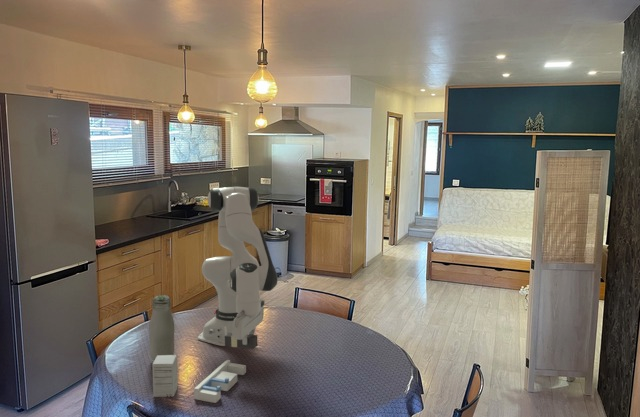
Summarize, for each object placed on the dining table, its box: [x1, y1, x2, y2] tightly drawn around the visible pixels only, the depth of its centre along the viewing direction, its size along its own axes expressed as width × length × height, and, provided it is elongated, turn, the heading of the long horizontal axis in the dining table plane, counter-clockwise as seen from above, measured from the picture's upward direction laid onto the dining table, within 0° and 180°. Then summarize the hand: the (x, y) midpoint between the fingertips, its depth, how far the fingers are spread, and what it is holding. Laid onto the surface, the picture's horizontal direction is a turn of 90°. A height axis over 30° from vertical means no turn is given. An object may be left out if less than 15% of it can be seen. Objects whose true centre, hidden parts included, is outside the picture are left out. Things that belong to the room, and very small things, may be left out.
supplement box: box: [151, 354, 179, 398], centre depth 174 cm, size 7×7×13 cm
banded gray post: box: [224, 333, 258, 350], centre depth 184 cm, size 12×4×4 cm, turn 73°
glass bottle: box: [148, 294, 175, 362], centre depth 198 cm, size 10×10×28 cm
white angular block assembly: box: [193, 359, 247, 404], centre depth 180 cm, size 8×24×5 cm, turn 163°
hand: (248, 341), depth 183 cm, fingers closed on banded gray post, 4 cm apart
